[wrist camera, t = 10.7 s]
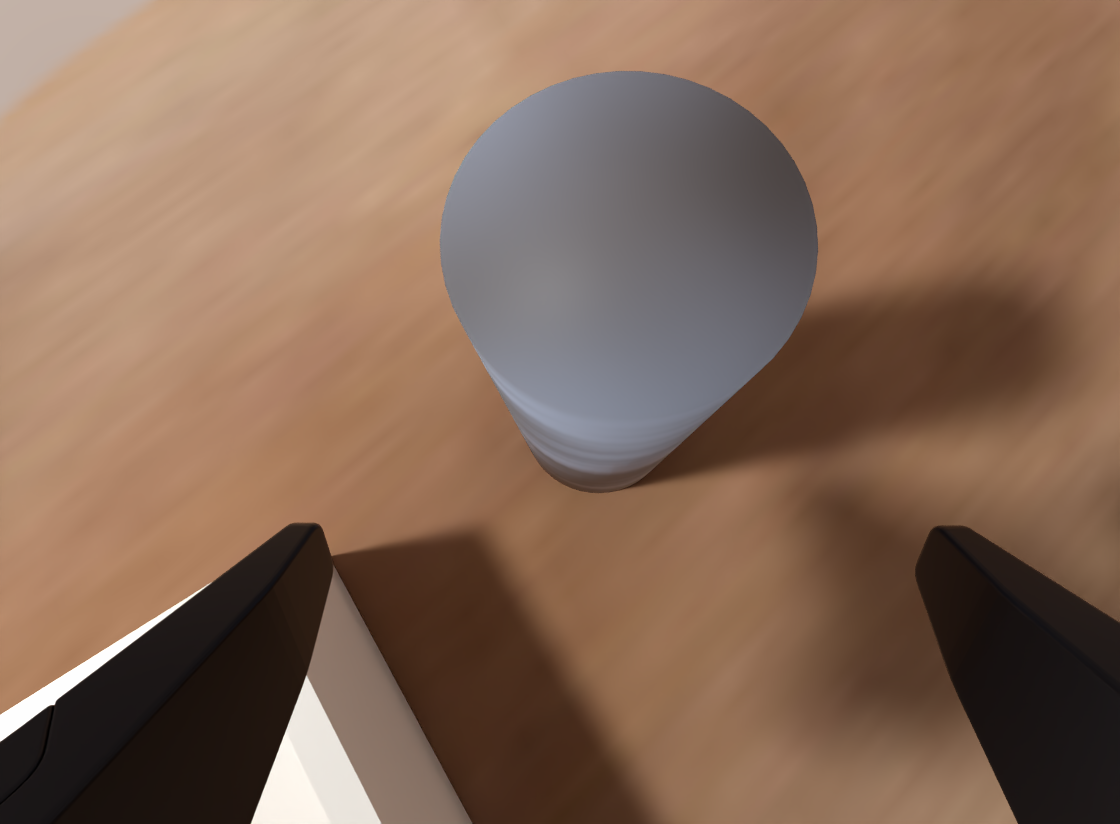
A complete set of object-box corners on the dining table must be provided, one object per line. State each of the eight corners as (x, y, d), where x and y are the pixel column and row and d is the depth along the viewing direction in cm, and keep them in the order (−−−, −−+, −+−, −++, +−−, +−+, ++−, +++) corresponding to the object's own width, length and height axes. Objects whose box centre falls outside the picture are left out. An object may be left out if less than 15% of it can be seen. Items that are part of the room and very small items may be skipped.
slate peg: (699, 443, 21) (897, 288, 8) (573, 521, 20) (564, 494, 7) (619, 324, 21) (679, 13, 9) (498, 396, 21) (374, 182, 8)
